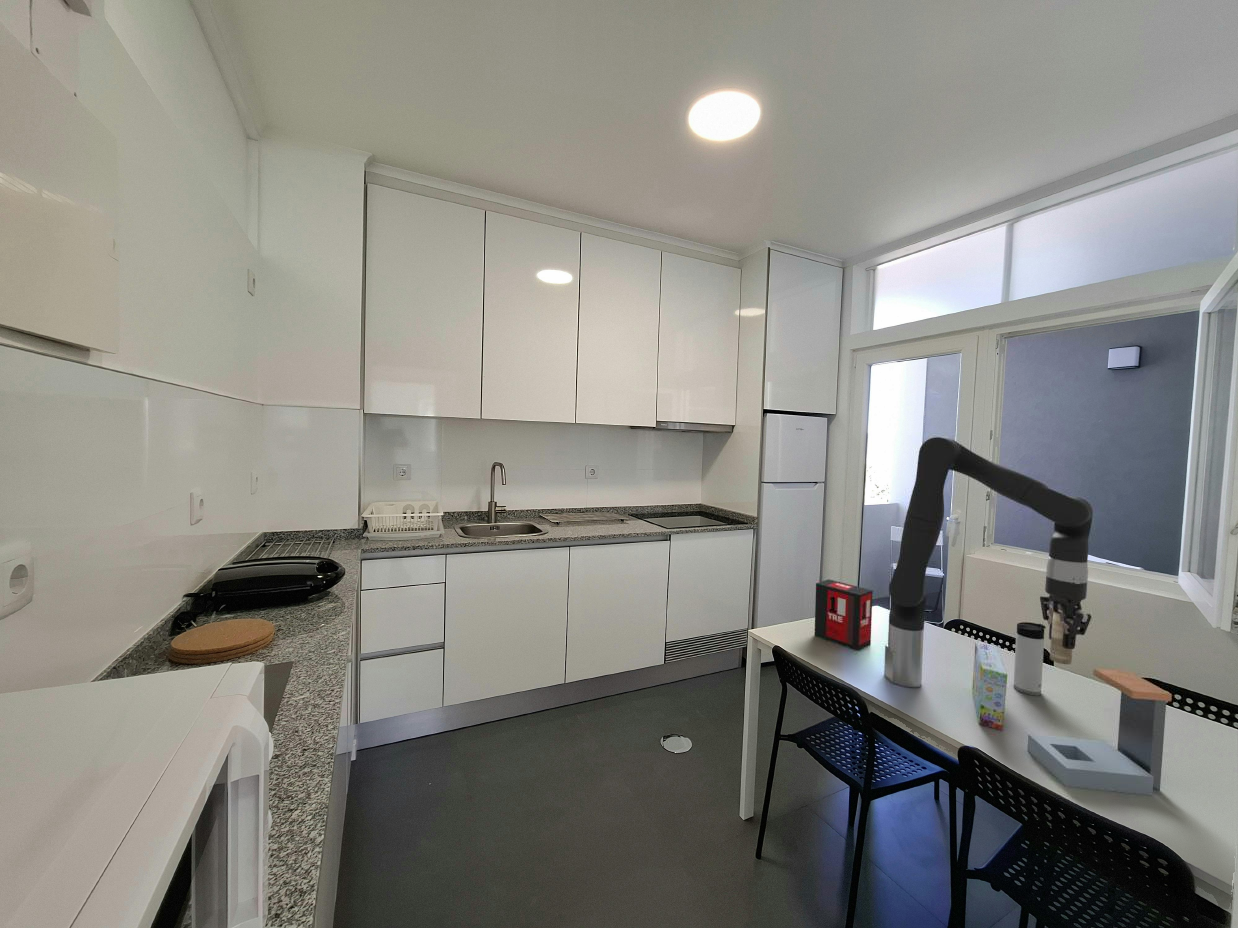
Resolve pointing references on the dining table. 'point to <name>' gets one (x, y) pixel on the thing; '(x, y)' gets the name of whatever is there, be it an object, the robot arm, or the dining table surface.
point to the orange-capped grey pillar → (1139, 719)
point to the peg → (1059, 642)
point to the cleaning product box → (843, 614)
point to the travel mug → (1029, 658)
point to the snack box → (989, 685)
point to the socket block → (1089, 764)
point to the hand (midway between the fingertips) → (1061, 643)
